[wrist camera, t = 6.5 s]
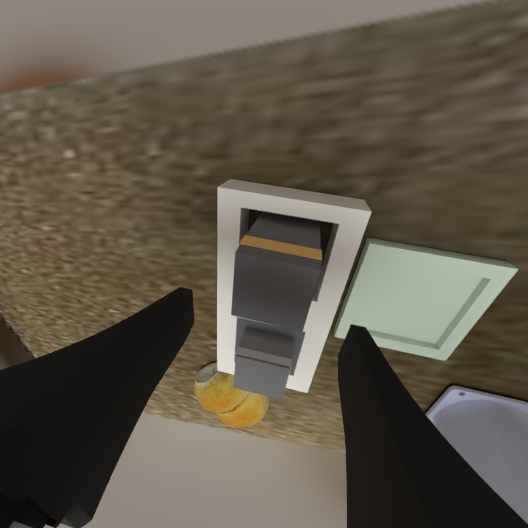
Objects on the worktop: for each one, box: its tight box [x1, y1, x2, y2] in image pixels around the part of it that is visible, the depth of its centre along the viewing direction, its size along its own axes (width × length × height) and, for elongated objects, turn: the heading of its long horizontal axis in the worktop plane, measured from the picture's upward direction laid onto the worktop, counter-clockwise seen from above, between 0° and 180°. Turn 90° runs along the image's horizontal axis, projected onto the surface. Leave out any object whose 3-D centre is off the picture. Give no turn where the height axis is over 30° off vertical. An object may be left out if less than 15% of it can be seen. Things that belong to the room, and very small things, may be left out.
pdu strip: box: [217, 179, 371, 400], centre depth 18 cm, size 9×18×6 cm, turn 174°
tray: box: [334, 237, 518, 361], centre depth 18 cm, size 9×9×1 cm
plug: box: [231, 211, 322, 332], centre depth 15 cm, size 4×4×7 cm
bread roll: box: [194, 362, 270, 427], centre depth 27 cm, size 8×9×4 cm
